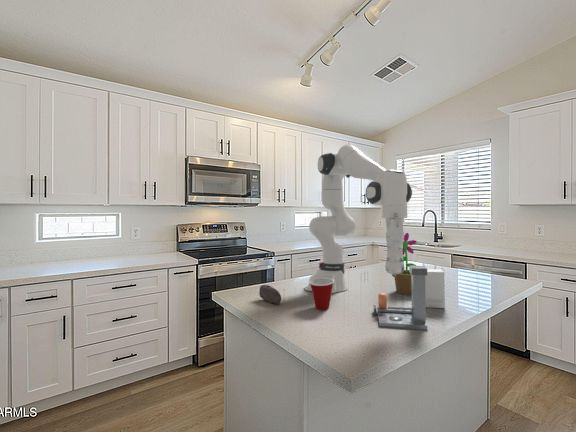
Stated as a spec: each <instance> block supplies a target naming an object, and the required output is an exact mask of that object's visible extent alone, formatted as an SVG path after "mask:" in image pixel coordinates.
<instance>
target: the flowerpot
mask: <svg viewBox="0 0 576 432" xmlns="http://www.w3.org/2000/svg"><path fill="white" fill-rule="evenodd" d="M409 239H410V234H409V232H406V233H404V241H403V249H402V250H403V262H404V263H405V269H404V271H403V273H402V274H391V277H394V283H395V292H396V293H397V294H398V295H404V296H411V273H410V272H409V266H417V264H415V263H411V262H409V263H408V261H409V260H408V253H410V254H412V255H413V254H415V252H414V249H413V248H412V247H411V246H413V245H416V244H417V243H418V242H417V241H418V240H413V239H411V240H409ZM408 240H409V241H408ZM404 255H405V256H404Z"/></svg>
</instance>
